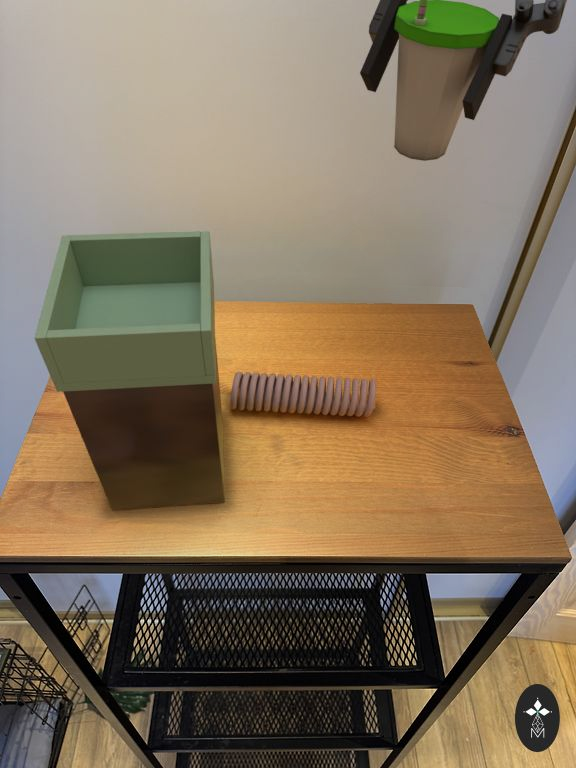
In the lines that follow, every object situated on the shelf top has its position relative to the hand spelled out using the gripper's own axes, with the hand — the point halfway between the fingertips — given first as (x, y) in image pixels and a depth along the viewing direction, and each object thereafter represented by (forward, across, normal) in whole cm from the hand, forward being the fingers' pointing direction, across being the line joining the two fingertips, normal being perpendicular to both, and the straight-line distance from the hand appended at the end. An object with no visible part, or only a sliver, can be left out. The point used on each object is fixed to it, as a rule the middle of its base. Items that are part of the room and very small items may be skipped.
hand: (416, 96), depth 45 cm
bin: (+26, +13, +3) cm, 30 cm away
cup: (+2, 0, -6) cm, 7 cm away
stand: (+40, +13, -11) cm, 44 cm away
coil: (+30, +5, -22) cm, 38 cm away
